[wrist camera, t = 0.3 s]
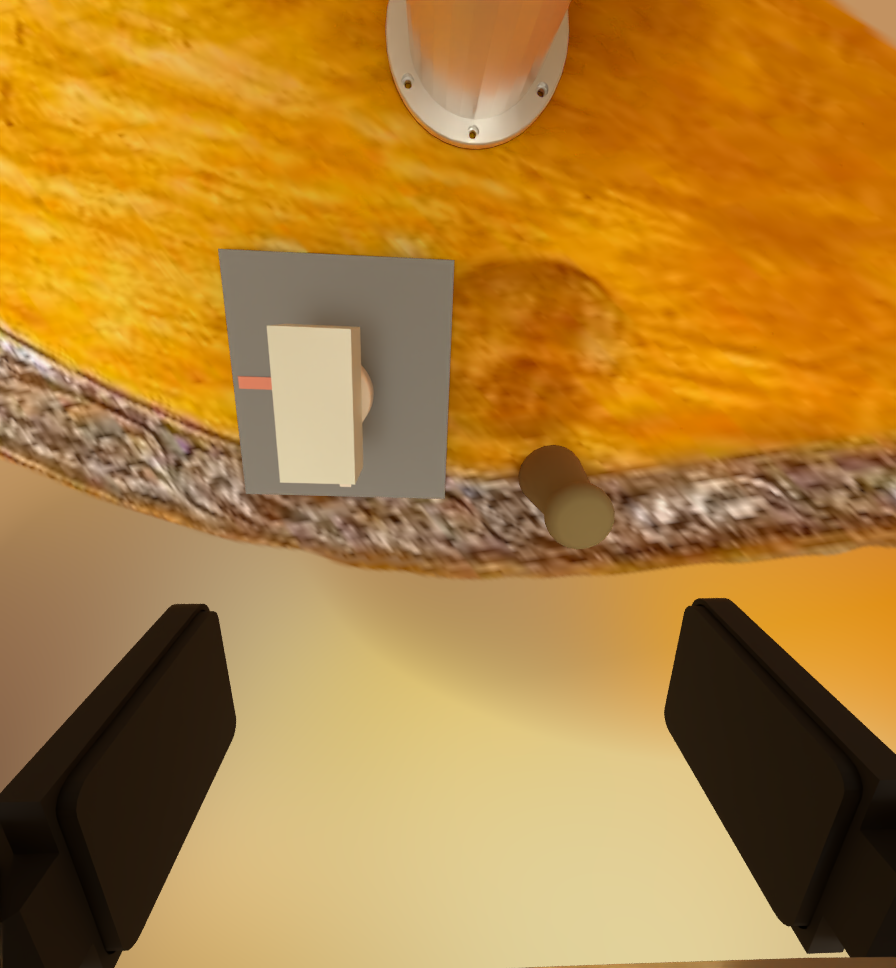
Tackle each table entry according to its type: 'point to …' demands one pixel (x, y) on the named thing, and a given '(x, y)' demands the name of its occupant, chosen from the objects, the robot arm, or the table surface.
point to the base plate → (384, 355)
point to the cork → (566, 497)
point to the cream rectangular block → (318, 402)
